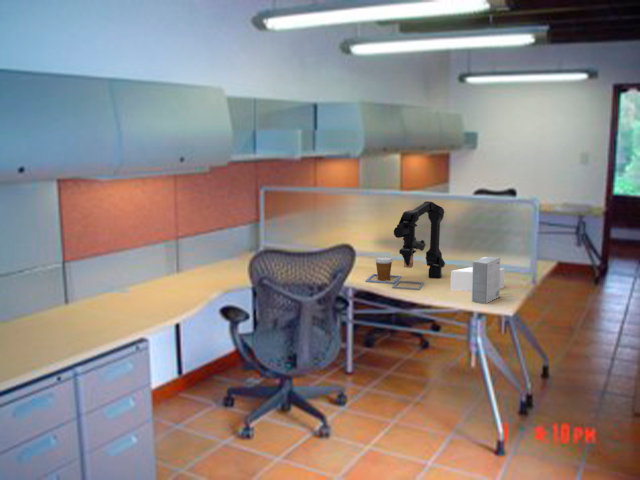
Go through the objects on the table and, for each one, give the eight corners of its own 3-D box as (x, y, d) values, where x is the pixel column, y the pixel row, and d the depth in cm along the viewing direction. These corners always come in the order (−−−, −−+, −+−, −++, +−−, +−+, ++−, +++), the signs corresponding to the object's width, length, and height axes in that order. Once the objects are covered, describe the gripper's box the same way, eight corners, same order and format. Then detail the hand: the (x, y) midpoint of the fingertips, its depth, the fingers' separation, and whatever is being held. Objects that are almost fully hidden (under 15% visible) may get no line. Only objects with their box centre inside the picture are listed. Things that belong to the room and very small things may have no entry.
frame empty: (424, 283, 340) (424, 282, 340) (419, 290, 327) (419, 288, 327) (398, 281, 345) (398, 280, 345) (392, 288, 332) (392, 286, 331)
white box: (509, 291, 324) (510, 271, 322) (455, 293, 320) (455, 274, 318) (498, 284, 338) (499, 265, 336) (445, 286, 334) (446, 267, 332)
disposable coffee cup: (373, 281, 347) (373, 259, 345) (377, 277, 356) (377, 256, 354) (390, 282, 345) (390, 260, 342) (393, 278, 354) (394, 257, 351)
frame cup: (401, 277, 355) (401, 275, 355) (394, 284, 340) (394, 282, 340) (373, 275, 361) (373, 273, 361) (365, 281, 346) (365, 280, 345)
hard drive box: (485, 295, 316) (486, 255, 313) (499, 297, 312) (501, 257, 308) (471, 301, 305) (472, 261, 301) (485, 304, 300) (487, 263, 296)
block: (412, 266, 336) (413, 255, 335) (411, 267, 332) (411, 256, 331) (405, 265, 337) (405, 254, 336) (403, 267, 333) (404, 256, 332)
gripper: (421, 239, 320) (420, 269, 323) (428, 233, 338) (427, 262, 340) (399, 238, 324) (398, 268, 327) (407, 232, 341) (406, 261, 344)
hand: (408, 264), depth 334 cm, fingers closed on block, 4 cm apart
